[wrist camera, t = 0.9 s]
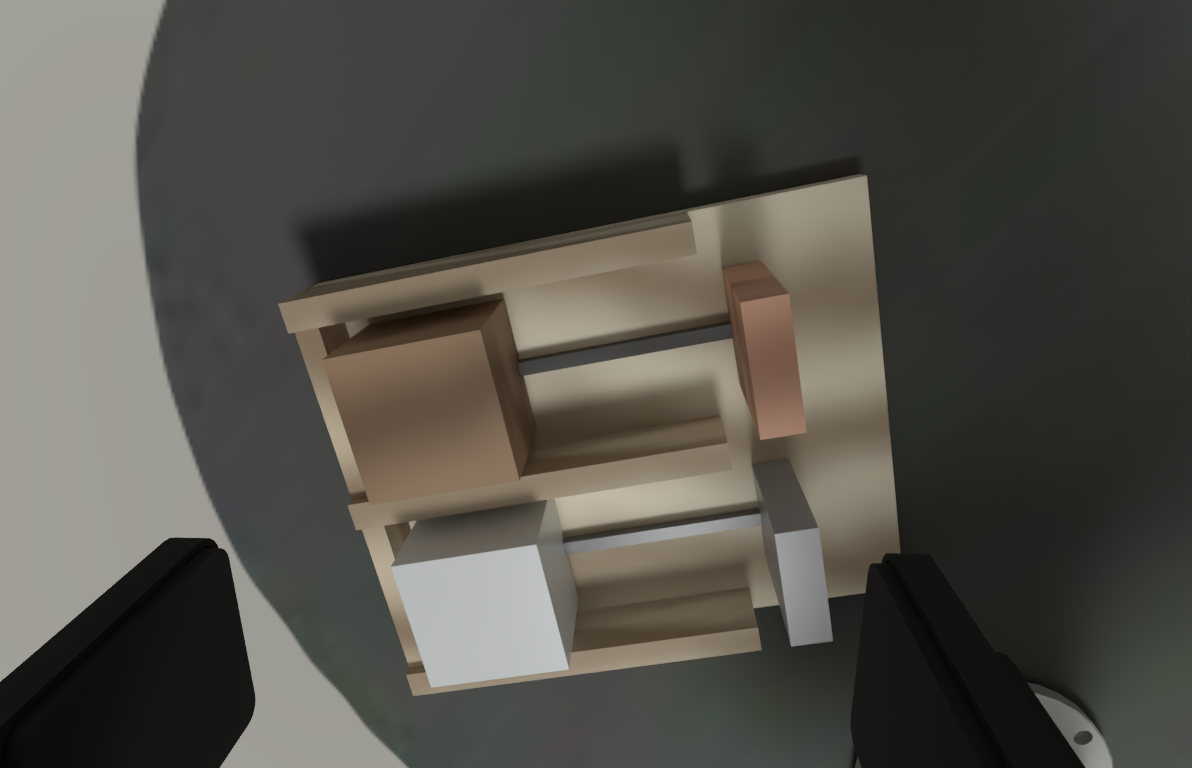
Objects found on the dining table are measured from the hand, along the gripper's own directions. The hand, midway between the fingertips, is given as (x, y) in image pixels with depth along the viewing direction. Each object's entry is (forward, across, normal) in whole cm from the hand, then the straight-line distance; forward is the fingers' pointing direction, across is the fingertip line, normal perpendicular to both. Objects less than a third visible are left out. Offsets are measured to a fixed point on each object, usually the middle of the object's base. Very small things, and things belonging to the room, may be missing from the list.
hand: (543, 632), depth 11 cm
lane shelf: (+23, 0, +6) cm, 24 cm away
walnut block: (+22, +2, +2) cm, 22 cm away
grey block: (+22, 0, +11) cm, 24 cm away
